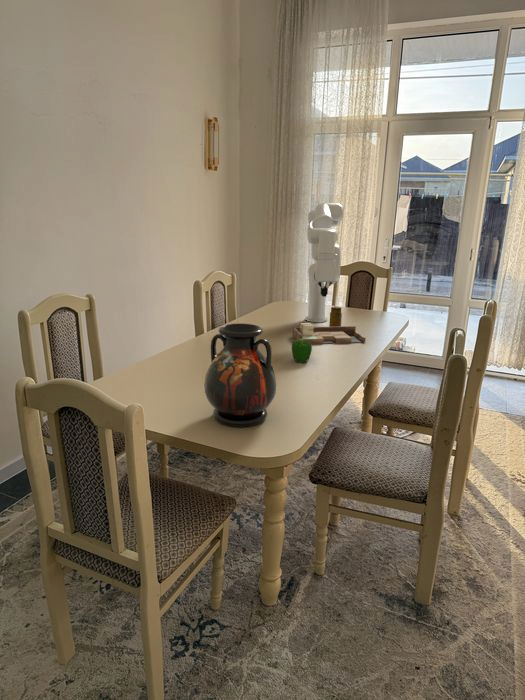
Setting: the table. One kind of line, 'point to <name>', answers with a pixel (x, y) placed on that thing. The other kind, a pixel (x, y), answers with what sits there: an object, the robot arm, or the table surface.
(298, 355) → the bell pepper
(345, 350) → the table surface
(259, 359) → the amphora vase
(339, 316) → the condiment
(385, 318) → the table surface
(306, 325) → the birch block
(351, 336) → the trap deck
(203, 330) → the table surface
